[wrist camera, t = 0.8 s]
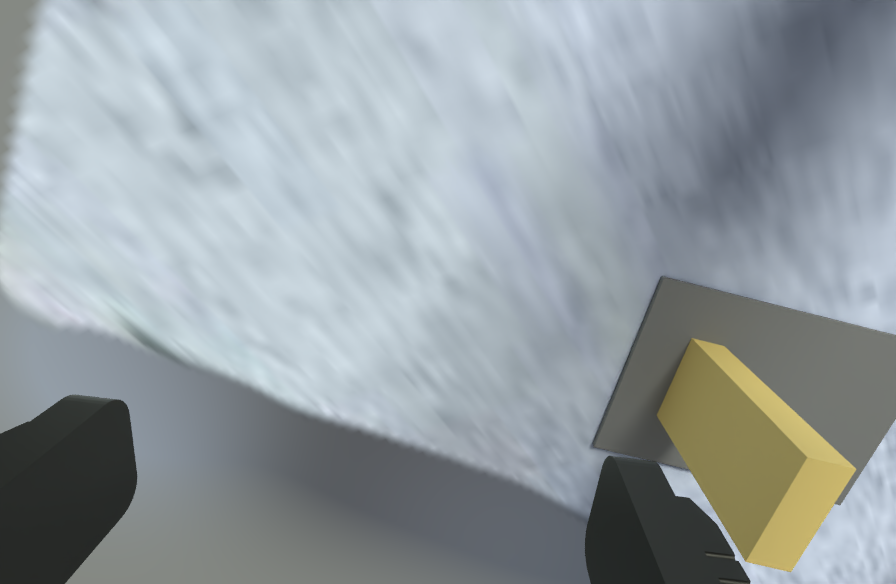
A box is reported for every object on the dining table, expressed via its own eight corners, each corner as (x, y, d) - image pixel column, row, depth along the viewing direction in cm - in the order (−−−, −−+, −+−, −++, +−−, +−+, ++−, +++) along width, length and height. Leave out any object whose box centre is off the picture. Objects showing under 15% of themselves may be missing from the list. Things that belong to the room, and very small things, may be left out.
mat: (592, 443, 39) (593, 447, 39) (661, 276, 35) (663, 277, 34) (836, 501, 40) (840, 505, 40) (936, 345, 35) (941, 347, 35)
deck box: (656, 415, 38) (745, 561, 26) (691, 338, 36) (807, 457, 23) (689, 423, 38) (793, 572, 26) (726, 346, 36) (859, 469, 23)
